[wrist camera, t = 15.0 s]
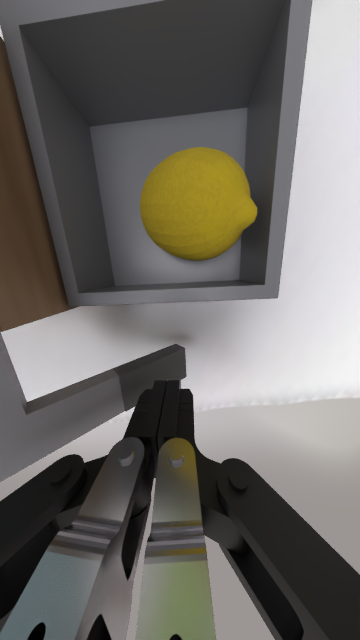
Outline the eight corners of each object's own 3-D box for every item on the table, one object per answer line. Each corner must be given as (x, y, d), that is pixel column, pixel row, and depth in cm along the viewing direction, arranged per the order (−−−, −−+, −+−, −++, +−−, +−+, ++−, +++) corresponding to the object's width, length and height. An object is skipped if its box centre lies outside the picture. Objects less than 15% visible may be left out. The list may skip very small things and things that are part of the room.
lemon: (277, 226, 11) (185, 219, 15) (291, 94, 6) (154, 139, 11) (233, 292, 10) (148, 264, 14) (213, 192, 5) (98, 197, 10)
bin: (111, 293, 16) (69, 306, 11) (83, 122, 13) (-6, 0, 7) (245, 287, 15) (277, 298, 10) (256, 101, 12) (319, -60, 6)
